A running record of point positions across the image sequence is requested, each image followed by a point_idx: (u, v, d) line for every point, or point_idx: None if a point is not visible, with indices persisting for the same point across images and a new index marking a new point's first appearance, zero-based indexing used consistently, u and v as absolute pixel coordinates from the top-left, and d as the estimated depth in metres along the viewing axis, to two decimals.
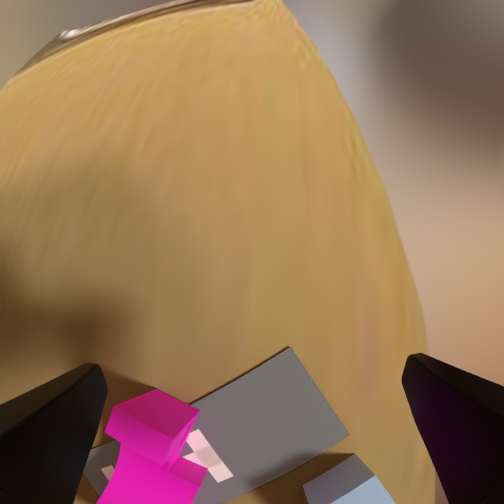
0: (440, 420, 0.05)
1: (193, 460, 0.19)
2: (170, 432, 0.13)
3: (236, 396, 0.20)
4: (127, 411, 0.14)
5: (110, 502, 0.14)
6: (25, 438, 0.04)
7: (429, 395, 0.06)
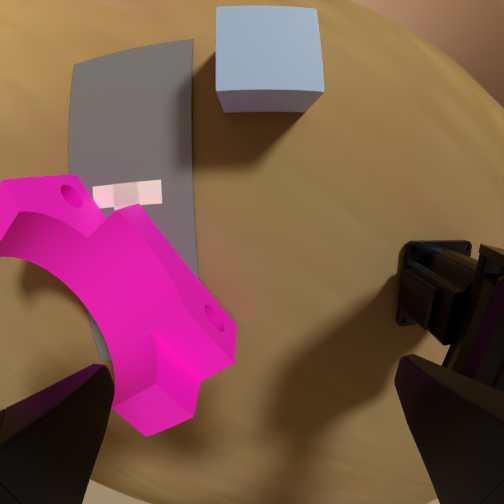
0: (432, 423, 0.05)
1: None
2: (7, 184, 0.10)
3: (81, 131, 0.16)
4: None
5: (116, 342, 0.16)
6: (33, 441, 0.04)
7: (421, 397, 0.06)
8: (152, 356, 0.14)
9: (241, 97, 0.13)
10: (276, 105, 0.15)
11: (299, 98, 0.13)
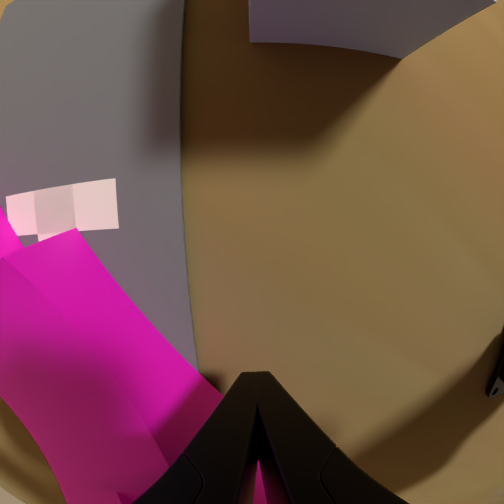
0: (261, 454, 0.05)
1: None
2: None
3: None
4: None
5: (65, 476, 0.06)
6: None
7: None
8: None
9: None
10: (367, 26, 0.05)
11: (431, 10, 0.04)
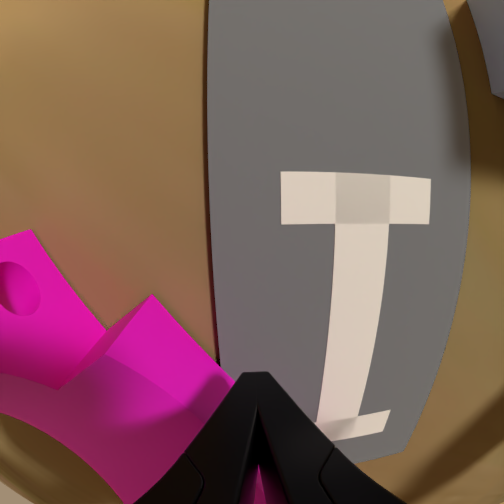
0: (260, 454, 0.05)
1: (355, 240, 0.09)
2: None
3: (245, 43, 0.07)
4: None
5: None
6: None
7: None
8: None
9: None
10: None
11: None
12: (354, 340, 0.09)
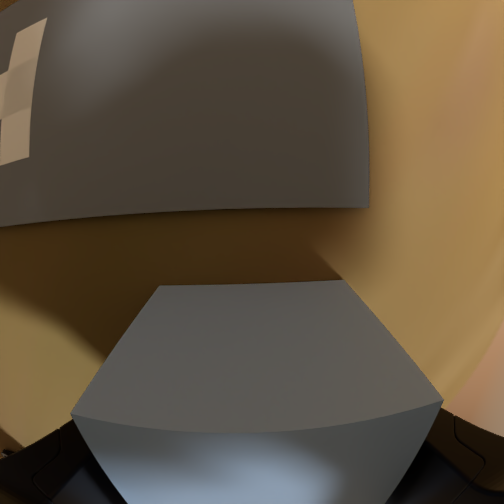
0: None
1: None
2: None
3: None
4: None
5: None
6: (97, 463, 0.04)
7: None
8: None
9: None
10: None
11: None
12: None
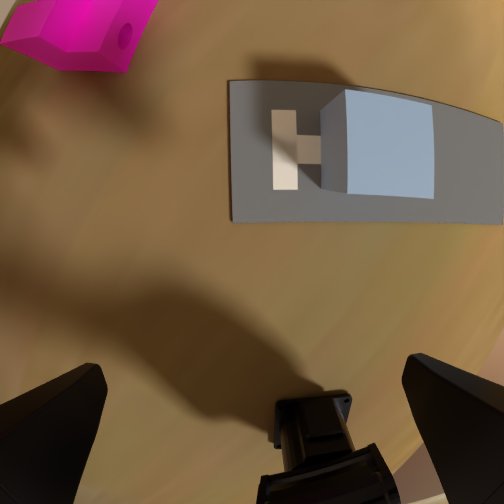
0: (440, 420, 0.05)
1: None
2: None
3: (463, 123, 0.16)
4: None
5: None
6: (25, 438, 0.04)
7: (429, 395, 0.06)
8: (75, 1, 0.09)
9: (337, 117, 0.13)
10: (328, 155, 0.16)
11: (337, 173, 0.14)
12: None
